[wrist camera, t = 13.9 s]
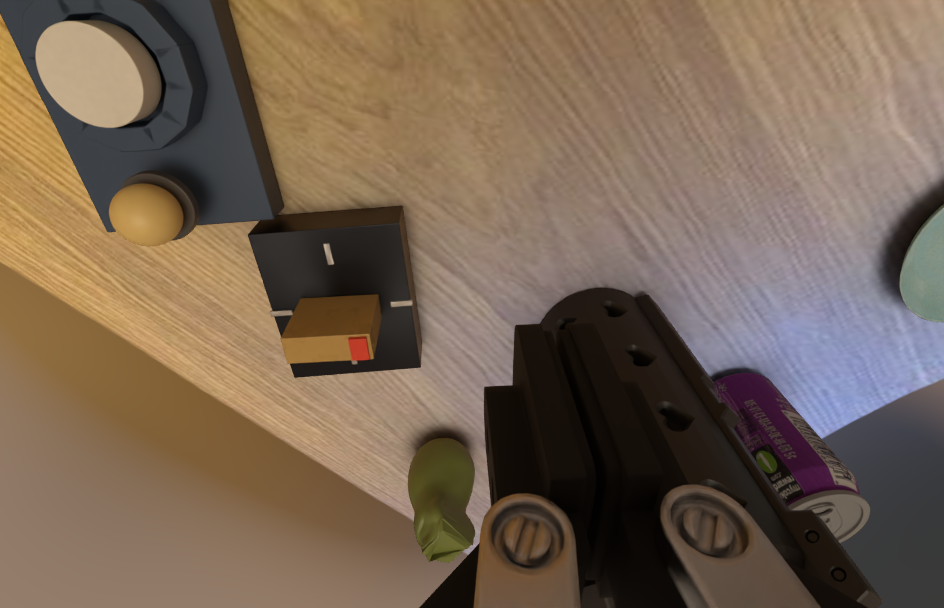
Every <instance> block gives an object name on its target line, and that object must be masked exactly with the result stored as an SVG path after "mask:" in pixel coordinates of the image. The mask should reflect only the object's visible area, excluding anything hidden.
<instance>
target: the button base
mask: <svg viewBox="0 0 944 608" xmlns="http://www.w3.org/2000/svg"><path fill="white" fill-rule="evenodd" d="M0 14H1V16H2V18H3V20H4V22H5V24H6V26H7V28H8V30H9V32H10V34H11V36H12V38H13V41H14V43H15V45H16V47H17V49H18V51H19V53H20V55H21V58H22V60H23V62H24V64H25V66H26V68H27V70H28V72H29V74H30V76H31V78H32V80H33V82H34V84H35V86H36V88H37V90H38V92H39V94H40V97H41V99H42V100H43V102H44V104H45V106H46V108H47V110H48V112H49V114H50V116H51V118H52V120H53V122H54V124H55V126H56V128H57V130H58V132H59V134H60V136H61V138H62V140H63V142H64V145H65V147H66V149H67V151H68V153H69V155H70V157H71V159H72V161H73V163H74V165H75V167H76V169H77V171H78V173H79V175H80V177H81V179H82V181H83V183H84V185H85V187H86V189H87V191H88V193H89V195H90V198H91V200H92V202H93V204H94V206H95V208H96V210H97V212H98V214H99V216H100V218H101V220H102V222H103V224H104V226H105V228H106V230H107V232H116V230H115V229H114V227H113V225H112V223H111V221H110V217H109V206H110V203H111V201H112V199H113V197H114V196H115V195H116V194H117V193H118V192H119V191H120V189H121V186H122V184H123V183H124V182H125V181H126V180H127V179H128V178H129V177H131V176H133V175H134V174H136V173H139V172H142V171H147V170H154V171H160V172H164V173H167V174H169V175H172V176H174V177H175V178H177V179H179V180H180V181H181V182H183V183H184V184H185V185H186V186H187V187H188V188H189V189H190V191H191V192H192V193H193V195H194V197H195V198H196V201H197V203H198V207H199V220H198V223H197V225H207V224H220V223H233V222H246V221H259V220H272V219H275V217H276V216H277V215H278V214H279V212H280V211H281V210H282V209H283V207H284V205H283V201H282V198H281V194H280V191H279V187H278V183H277V180H276V176H275V172H274V169H273V165H272V162H271V158H270V154H269V151H268V147H267V144H266V140H265V136H264V133H263V129H262V126H261V122H260V118H259V115H258V111H257V107H256V104H255V100H254V97H253V93H252V89H251V86H250V82H249V79H248V75H247V71H246V68H245V64H244V60H243V57H242V53H241V50H240V46H239V42H238V39H237V35H236V32H235V28H234V24H233V21H232V17H231V13H230V10H229V6H228V3H227V0H0ZM80 20H99V21H105V22H109V23H112V24H114V25H117V26H119V27H121V28H123V29H124V30H126V31H127V32H129V33H130V34H132V35H133V36H134V37H135V38H137V39H138V40H139V41H140V42H141V43H142V44H143V45H144V47H145V48H146V49H147V50H148V52H149V53H150V55H151V56H152V58H153V60H154V61H155V63H156V66H157V68H158V70H159V74H160V78H161V85H162V91H161V97H160V101H159V103H158V106H157V107H156V109H155V110H154V111H153V112H152V113H151V114H150V115H148V116H147V117H145V118H143V119H140V120H138V121H135V122H132V123H129V124H127V125H124V126H120V127H115V128H104V127H98V126H94V125H91V124H88V123H85V122H83V121H81V120H79V119H77V118H76V117H74V116H73V115H71V114H70V113H68V112H67V111H66V110H65V109H63V108H62V107H61V106H60V105H59V104H58V103H57V102H56V101H55V100H54V98H53V97H52V96H51V95H50V93H49V92H48V90H47V89H46V87H45V86H44V84H43V82H42V80H41V78H40V75H39V72H38V69H37V64H36V46H37V43H38V40H39V38H40V36H41V35H42V33H43V32H44V31H45V30H46V29H47V28H48V27H50V26H51V25H53V24H55V23H58V22H63V21H80Z"/></svg>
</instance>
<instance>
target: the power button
mask: <svg viewBox="0 0 944 608" xmlns="http://www.w3.org/2000/svg"><path fill="white" fill-rule="evenodd" d="M36 64H37V69H38V72H39V75H40V78H41V80H42V82H43V84H44V86H45V87H46V89H47V90H48V92H49V93H50V95H51V96H52V97H53V98H54V100H55V101H56V102H57V103H58V104H59V105H60V106H61V107H62V108H63V109H65V110H66V111H67V112H68V113H70V114H71V115H73V116H74V117H76V118H77V119H79V120H81V121H83V122H85V123H88V124H91V125H94V126H98V127H104V128H115V127H120V126H124V125H127V124H129V123H132V122H135V121H138V120H140V119H143V118H145V117H147V116H148V115H150V114H151V113H152V112H153V111H154V110H155V109H156V107H157V106H158V103H159V101H160V97H161V91H162V85H161V78H160V74H159V70H158V68H157V66H156V63H155V61H154V60H153V58H152V56H151V55H150V53H149V52H148V50H147V49H146V48H145V47H144V45H143V44H142V43H141V42H140V41H139V40H138V39H137V38H135V37H134V36H133V35H132V34H130V33H129V32H127V31H126V30H124V29H123V28H121V27H119V26H117V25H114V24H112V23H109V22H105V21H99V20H80V21H63V22H58V23H55V24H53V25H51V26H50V27H48V28H47V29H46V30H45V31H44V32H43V33H42V35H41V36H40V38H39V40H38V43H37V46H36Z"/></svg>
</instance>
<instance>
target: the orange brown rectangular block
mask: <svg viewBox="0 0 944 608" xmlns="http://www.w3.org/2000/svg"><path fill="white" fill-rule="evenodd" d="M381 320H382V314H381V307H380V301H379V295H378V294H374V295H355V296H336V297H316V298H301V299H300V300H299V302H298V304H297V306H296V308H295V310H294V313H293V315H292V317H291V319H290V321H289V323H288V325H287V327H286V329H285V331H284V333H283V335H282V337H281V342H282V346H283V349H284V353H285V356H286V360H287V363H288V364H292V363H309V362H327V361H345V360H352V361H356V360H369V359H374V355H375V350H376V345H377V340H378V335H379V330H380V325H381Z"/></svg>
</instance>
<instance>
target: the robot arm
mask: <svg viewBox="0 0 944 608" xmlns="http://www.w3.org/2000/svg"><path fill="white" fill-rule="evenodd" d="M484 423H485V442H486V454H487V465H488V476H489V487H490V498H491V508H490V509H489V511H488V512H487V514H486V515H485V517H484V520H483V524H482V527H481V534H480V543H479V544H478V545H477V546H476V548H475V549H474V550H473V551H472V552H471V553H470V554H469V555H468V556H467V557H466V558H465V559H464V560H463V561H462V563H461V564H460V565H459V566H458V567H457V568H456V569H455V570H454V571H453V572H452V573H451V574H450V576H448V578H447V579H446V580H445V581H444V582H443V583H442V584H441V585H440V586H439V587H438V588H437V589H436V590H435V592H434V593H433V594H432V595H431V596H430V597H429V598H428V599H427V600H426V601H425V602H424V603H423V605H421V607H420V608H581V599H582V594H583V589H584V584H585V579H586V580H595V583H596V586H597V590H598V594H599V598H612V597H613V601H614V604H615V608H868V607H866V606H864V605H863V604H861V603H859V602H858V601H856V600H854V599H852V598H851V597H849V596H847V595H846V594H844V593H842V592H840V591H839V590H837V589H835V588H834V587H832V586H830V585H828V584H827V583H825V582H823V581H822V580H820V579H818V578H816V577H815V576H813V575H811V574H810V573H808V572H806V571H805V570H803V569H801V568H799V567H798V566H796V565H794V564H793V563H791V562H789V561H787V560H786V559H784V558H783V557H782V556H781V555H780V553H779V552H778V551H777V549H776V548H775V547H774V546H773V544H772V543H771V542H770V540H769V539H768V538H767V536H766V535H765V534H764V532H763V531H762V530H761V529H760V527H759V526H758V525H757V523H756V522H755V521H754V519H753V518H752V517H751V515H750V514H749V513H748V512H747V511H746V510H745V509H744V508H743V507H742V506H741V505H740V504H739V503H738V502H736V501H735V500H734V499H732V498H731V497H729V496H728V495H726V494H725V493H722V492H720V491H718V490H715V489H713V488H711V487H706V486H701V485H689V483H688V481H687V479H686V477H685V475H684V473H683V471H682V469H681V467H680V465H679V463H678V461H677V460H676V458H675V456H674V454H673V452H672V450H671V448H670V446H669V444H668V442H667V440H666V438H665V436H664V434H663V432H662V430H661V428H660V426H659V424H658V422H657V420H656V418H655V416H654V414H653V412H652V410H651V408H650V406H649V404H648V402H647V400H646V398H645V396H644V394H643V392H642V390H641V388H640V387H639V385H638V384H637V382H635V381H634V380H623V381H621V380H620V378H619V375H618V373H617V371H616V369H615V367H614V365H613V362H612V360H611V358H610V356H609V354H608V352H607V350H606V347H605V345H604V343H603V341H602V339H601V337H600V335H599V332H598V330H597V328H596V326H595V324H594V323H593V322H577V323H567V324H566V326H565V330H558V331H557V334H556V343H555V340H554V337H553V334H552V331H551V330H543V328H542V325H541V324H529V325H516V326H515V333H514V360H513V385H512V386H490V387H484Z"/></svg>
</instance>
